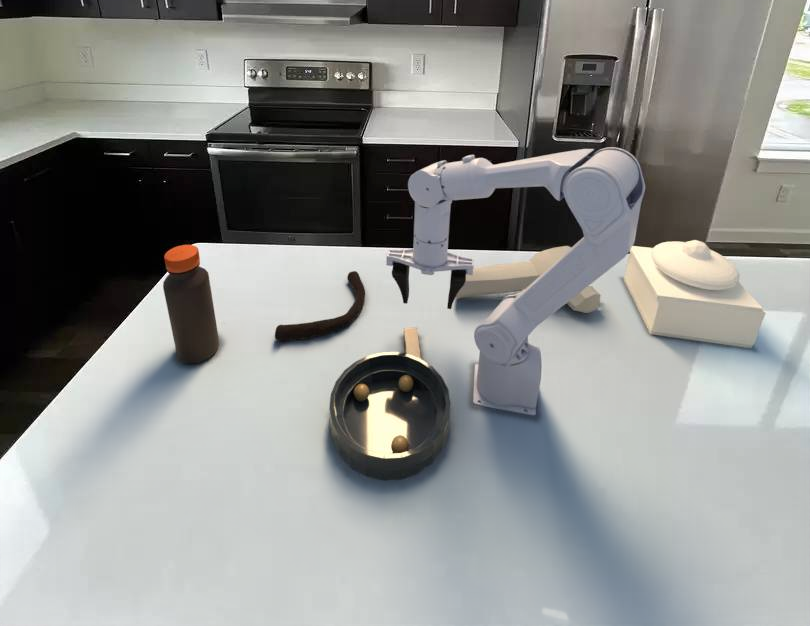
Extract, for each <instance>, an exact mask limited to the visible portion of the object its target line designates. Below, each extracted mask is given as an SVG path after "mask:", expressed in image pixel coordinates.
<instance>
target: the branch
mask: <svg viewBox="0 0 810 626" xmlns="http://www.w3.org/2000/svg"><path fill="white" fill-rule="evenodd" d="M346 279H347V281H348V283H349V285H350V286H351V287H352V290H353V293H354V297H355V299H354V302H353V304H352V305H351V307H350V308H348V311H347V312H346V313H345V314H343V315H340V316H337V317H333V318H327V319H320V320H316V321H311V322H303V323H302V322H301V323H293V324H291V323H290V324H279V325H277V326H276V328H275V332H274V339H275V340H276V341H278V342H288V341H293V340H304V339H309V338H313V337H318V336H321V335H322V336H323V335H325V334H330V333H334V332H338V331H340V330H342V329H344V328H346V326H348V325H349V324H350V323H352V322H353V321H354V320H355V319H356V318H357V317H358V316H359V315H360V313H361V312H362V311H363V309H364V307H363V306H364V302H365V300H366V299H365V298H366V289H365V286H364V284H363V282H362V279H361V276H360V273H359V272H357V271H356V270H353V271H349V273H348V274H347V276H346Z"/></svg>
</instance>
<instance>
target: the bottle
mask: <svg viewBox="0 0 810 626" xmlns="http://www.w3.org/2000/svg"><path fill="white" fill-rule="evenodd" d="M163 258H164V264H165V269H166V271H167V273H168V275H167V276H166V277H165V279H164V280H163V284H162V288H163V294H164V297H165V298H164V299H165V303H166V308H167V314H168V318H169V323H170V328H171V332H172V333H171V334H172V338H173V341H174V342H173V343H174V347H175V352H176V357H177V359H178V360H179V361H180V362H182V364H187V365H194V364H200V363H203V362H205V361H206V360H208V359H210V358H211V357H212V356H214V355H215V354H216V352H217V351H218V349H219V346H220V338H219V332H218V325H217V320H216V312H215V306H214V301H213V299H214V298H213V294H212V287H211V281H210V274H209V272H208V271H207V270H206V268H204V267H201V266H200V265H201V258H200V252H199V248H198V247H197V246H196V245H193V244H182V245H178V246H174V247H172V248H170V249H169V250H168V251H166V252H165V254H164V255H163Z"/></svg>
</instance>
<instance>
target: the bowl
mask: <svg viewBox="0 0 810 626" xmlns="http://www.w3.org/2000/svg"><path fill="white" fill-rule="evenodd" d="M404 375H408V376H410V377H411V378H412V379H413V383H414V385H413V388H412V389H411V390H410V391H409V392H403V391H402V390H401V389H400V388H399V384H398V383H399V379H400V378H401V377H402V376H404ZM359 384H365V385H366V386H367V387H368V388H369V396H368V398H367V399H366V400H365V401H358V400H356V399H355V397H354V389H355V387H356V386H357V385H359ZM451 404H452V402H451V396H450V392H449V388H448V386H447V384H446V382H445V380H444V378H443V376H442V375H441V374H440V373H439V372H438V371H437V370H436V369H435V368H434V367H433V366H432V364H429V363H428V362H426V361H425V360H424V359H423V358H421V359H420V358H418V357H415V356H413V355H410V354H406V353H405V352H399V351H382V352H381V351H380V352H377V353H372V354H368V355H366V356H364V357H362V358H360V359H358V360H356V361H354V362H353V363H352V364H351V365H349V366H348V367H347V368H345V369H344V370H343V372H341V374H340V375H339V377H338V378H337V379H336V381H335V383H334V385H333V387H332V390H331V393H330V399H329V406H328V407H329V411H328V412H329V428H330V429H329V430H330V435H331V439H332V443H333V445H334V447H335V449H336V451H337V453H338V455H339V456H340V458H341V459H342V460H343V461H344V462H345V463H346V464H347V465H348V466H349V467H350V468H351V469H352V470H354V471H355V472H358V473H359V474H362V475H363V476H365V477H368V478H373V479H377V480H381V481H395V480H404V479H406V478H409V477H411V476H415V475H417V474H419V473H420V472H422V471H423V470H425V469H427V468H428V467H429V466H431V465H432V464H433V463H434V461H435V460H436V459H437V458H438V456H439V455H440V454H441V453H442V451H443V449H444V447H445V445H446V442H447V440H448V436H449V429H450V417H451V407H452V405H451ZM399 435H401V436H404V437H405V438H406V439H407V440H408V443H409V448H408V451H405V452H402V453H393V452H392V449H391V443H392V440H393V439H394V438H395V437H396V436H399Z"/></svg>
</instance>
